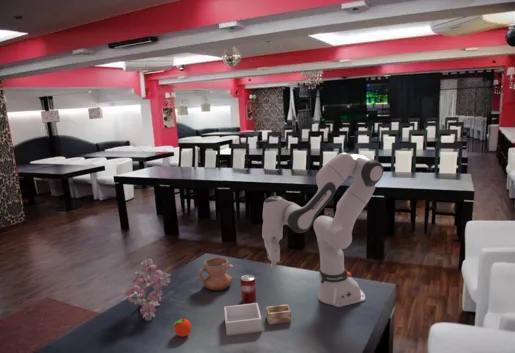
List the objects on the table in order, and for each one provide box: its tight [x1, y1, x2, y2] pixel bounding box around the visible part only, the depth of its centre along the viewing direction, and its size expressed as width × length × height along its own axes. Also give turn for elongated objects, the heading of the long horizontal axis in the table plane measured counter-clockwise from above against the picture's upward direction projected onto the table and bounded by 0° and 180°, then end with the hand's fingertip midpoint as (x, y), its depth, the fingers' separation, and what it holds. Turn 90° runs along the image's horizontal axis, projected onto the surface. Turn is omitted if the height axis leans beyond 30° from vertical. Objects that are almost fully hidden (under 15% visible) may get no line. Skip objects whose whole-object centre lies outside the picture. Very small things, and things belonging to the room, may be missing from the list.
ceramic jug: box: [198, 256, 233, 291], centre depth 203 cm, size 18×14×14 cm
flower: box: [122, 257, 173, 322], centre depth 182 cm, size 20×22×25 cm
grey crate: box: [223, 302, 263, 337], centre depth 168 cm, size 15×13×6 cm
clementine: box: [171, 318, 192, 338], centre depth 163 cm, size 8×7×7 cm
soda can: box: [240, 274, 257, 304], centre depth 188 cm, size 7×7×12 cm
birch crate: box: [265, 304, 292, 325], centre depth 172 cm, size 10×6×5 cm, turn 98°
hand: (271, 263), depth 170 cm, fingers open, 8 cm apart
